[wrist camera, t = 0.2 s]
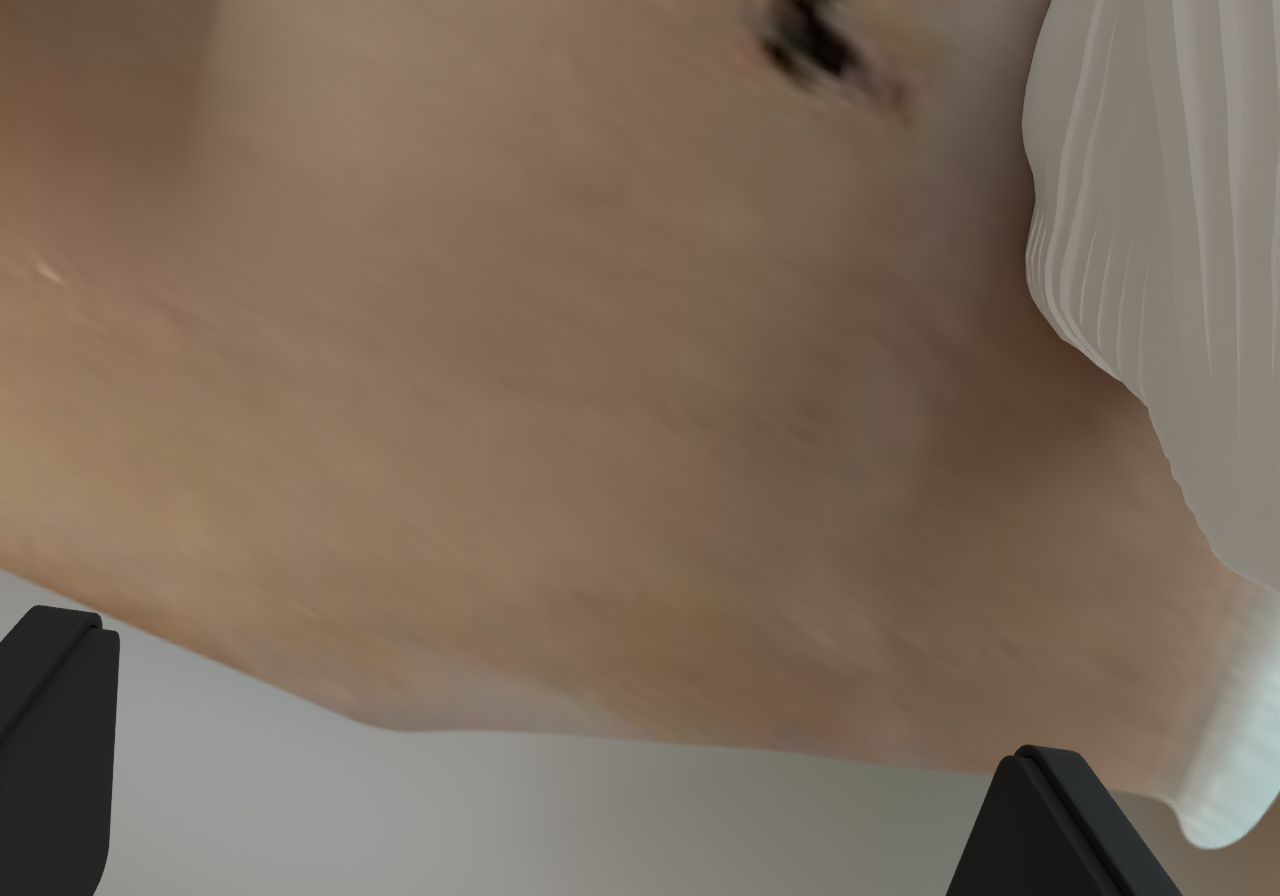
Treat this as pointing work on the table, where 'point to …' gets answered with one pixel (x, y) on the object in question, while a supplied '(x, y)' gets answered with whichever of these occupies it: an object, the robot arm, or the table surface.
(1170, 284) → the paper stack
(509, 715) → the table surface
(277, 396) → the table surface
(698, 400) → the table surface
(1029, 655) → the table surface
